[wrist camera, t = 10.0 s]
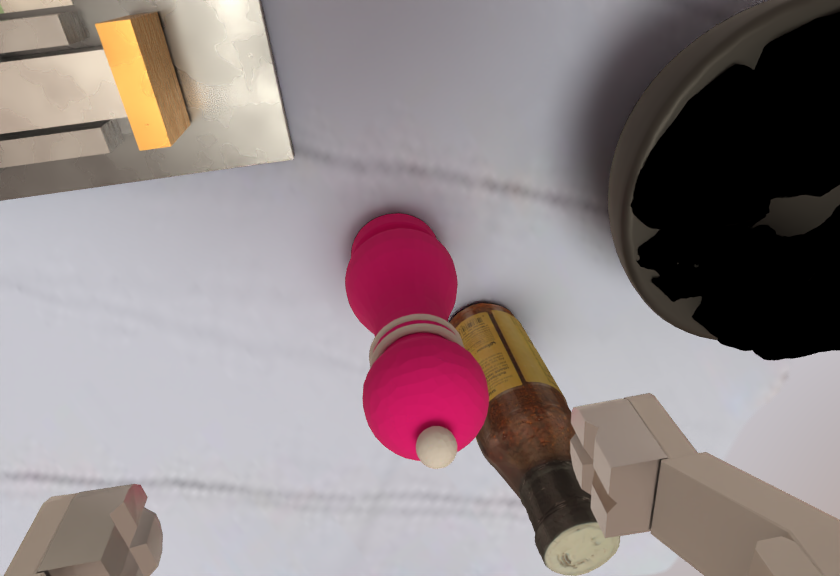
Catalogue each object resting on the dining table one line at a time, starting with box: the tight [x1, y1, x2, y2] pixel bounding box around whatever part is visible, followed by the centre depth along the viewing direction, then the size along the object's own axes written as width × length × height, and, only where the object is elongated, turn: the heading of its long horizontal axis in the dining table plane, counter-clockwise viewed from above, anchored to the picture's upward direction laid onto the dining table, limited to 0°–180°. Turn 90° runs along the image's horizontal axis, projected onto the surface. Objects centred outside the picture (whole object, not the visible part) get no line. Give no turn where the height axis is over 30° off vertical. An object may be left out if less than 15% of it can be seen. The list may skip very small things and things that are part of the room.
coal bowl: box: [608, 0, 840, 360], centre depth 32 cm, size 20×20×19 cm
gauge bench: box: [0, 0, 294, 201], centre depth 30 cm, size 12×20×7 cm, turn 96°
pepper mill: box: [345, 213, 489, 469], centre depth 33 cm, size 7×7×20 cm
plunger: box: [0, 12, 191, 151], centre depth 29 cm, size 9×11×5 cm
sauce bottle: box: [450, 303, 620, 576], centre depth 37 cm, size 6×6×20 cm
